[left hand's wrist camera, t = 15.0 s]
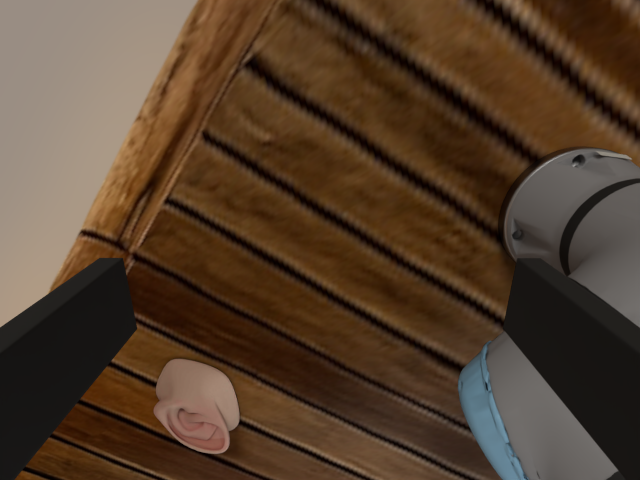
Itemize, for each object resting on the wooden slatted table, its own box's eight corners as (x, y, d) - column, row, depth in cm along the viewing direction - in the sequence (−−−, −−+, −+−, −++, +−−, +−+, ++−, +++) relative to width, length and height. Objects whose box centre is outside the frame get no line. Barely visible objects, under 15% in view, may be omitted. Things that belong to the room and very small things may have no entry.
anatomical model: (138, 377, 46) (231, 381, 46) (152, 356, 49) (237, 360, 49) (150, 456, 50) (234, 459, 50) (161, 431, 54) (240, 434, 54)
